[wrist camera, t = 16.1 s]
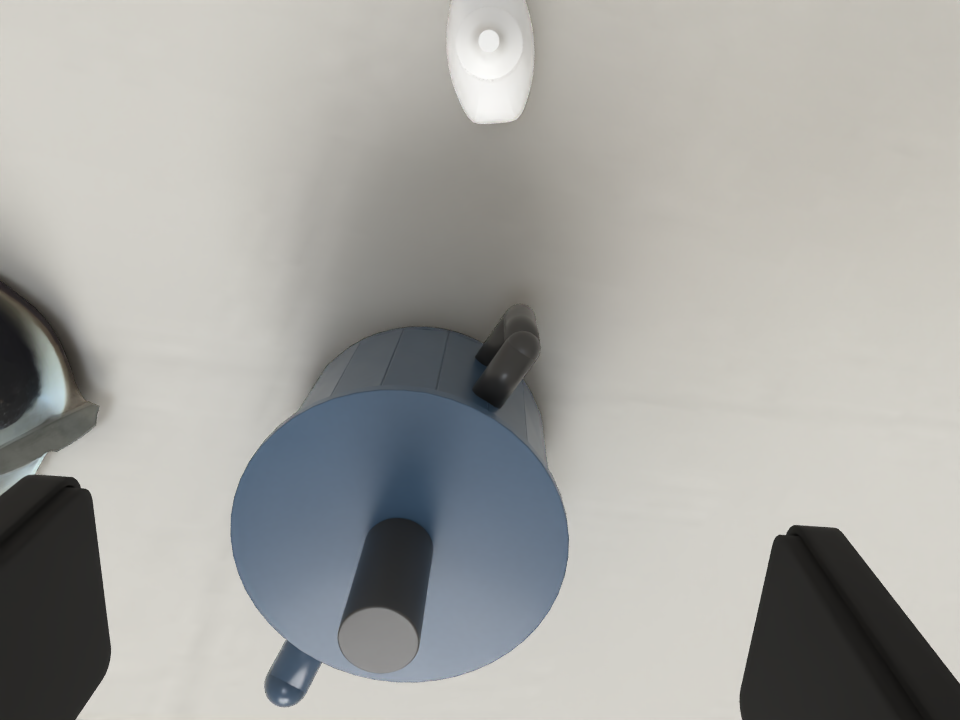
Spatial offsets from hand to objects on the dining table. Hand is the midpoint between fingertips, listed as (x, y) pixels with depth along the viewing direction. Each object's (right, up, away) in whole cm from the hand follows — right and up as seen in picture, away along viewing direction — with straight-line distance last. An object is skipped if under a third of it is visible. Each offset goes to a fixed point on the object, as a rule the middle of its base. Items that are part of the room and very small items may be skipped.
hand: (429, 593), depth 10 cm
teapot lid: (-3, -5, +23) cm, 24 cm away
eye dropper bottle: (+1, +18, +26) cm, 32 cm away
